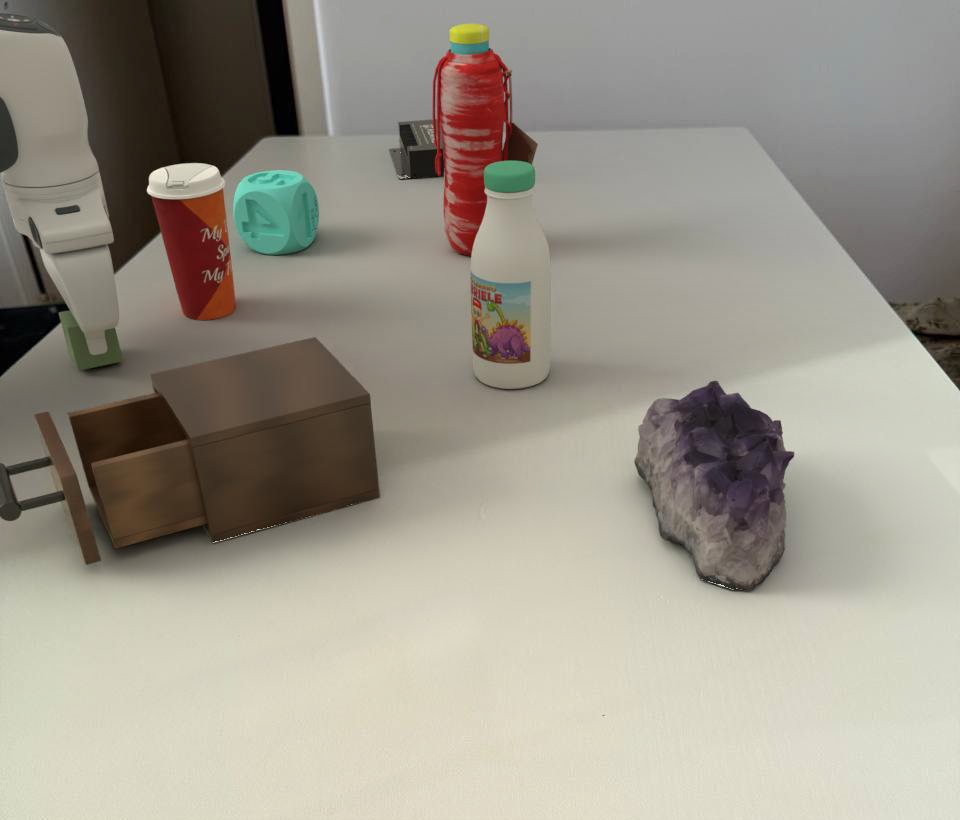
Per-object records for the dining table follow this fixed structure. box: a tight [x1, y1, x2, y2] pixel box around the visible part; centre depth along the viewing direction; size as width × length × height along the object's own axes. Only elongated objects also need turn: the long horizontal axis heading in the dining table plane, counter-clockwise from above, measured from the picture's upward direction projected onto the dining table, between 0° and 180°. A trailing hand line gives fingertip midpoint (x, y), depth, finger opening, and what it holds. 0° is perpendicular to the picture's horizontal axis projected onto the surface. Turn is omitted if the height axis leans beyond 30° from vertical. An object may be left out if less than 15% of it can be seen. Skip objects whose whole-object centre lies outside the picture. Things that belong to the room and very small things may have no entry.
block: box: [58, 309, 123, 371], centre depth 117 cm, size 5×5×5 cm
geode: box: [633, 380, 795, 591], centre depth 89 cm, size 20×12×10 cm, turn 6°
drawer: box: [0, 392, 207, 566], centre depth 91 cm, size 18×11×8 cm, turn 117°
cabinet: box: [149, 336, 381, 543], centre depth 95 cm, size 15×13×10 cm
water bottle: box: [431, 23, 539, 257], centre depth 134 cm, size 12×8×25 cm, turn 95°
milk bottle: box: [470, 161, 552, 390], centre depth 107 cm, size 8×8×20 cm
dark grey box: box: [388, 118, 444, 179], centre depth 164 cm, size 20×14×17 cm
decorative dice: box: [232, 169, 320, 256], centre depth 142 cm, size 8×8×8 cm
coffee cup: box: [146, 162, 236, 321], centre depth 124 cm, size 8×8×15 cm
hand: (91, 341), depth 117 cm, fingers closed on block, 4 cm apart
